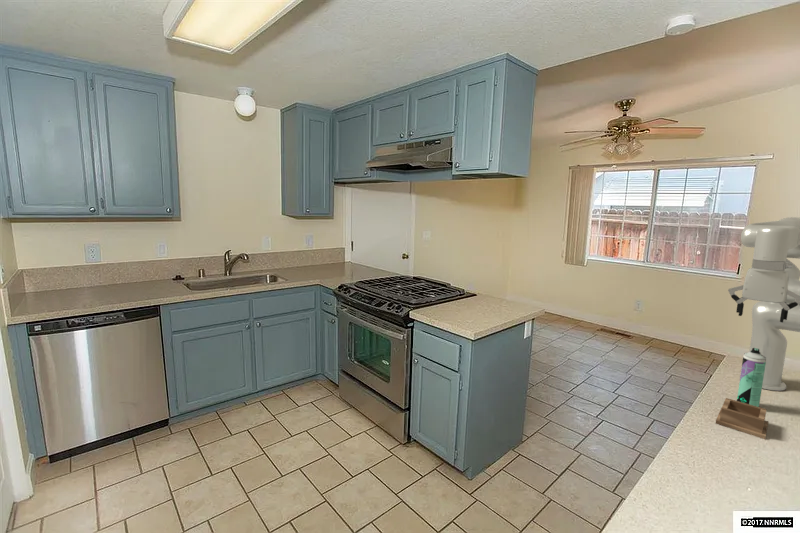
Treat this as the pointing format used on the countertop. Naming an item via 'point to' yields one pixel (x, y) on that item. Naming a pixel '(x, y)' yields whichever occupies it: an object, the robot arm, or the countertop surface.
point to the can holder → (743, 418)
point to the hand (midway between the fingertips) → (760, 318)
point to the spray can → (751, 377)
